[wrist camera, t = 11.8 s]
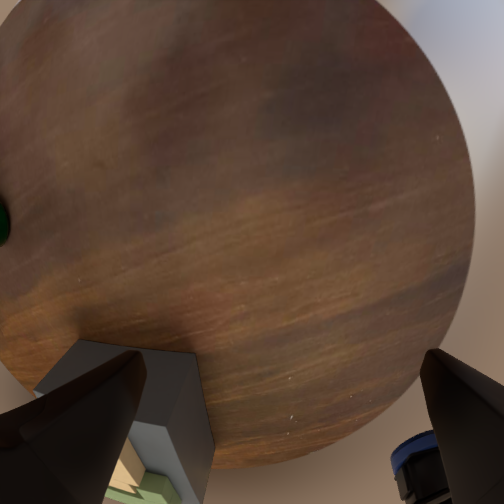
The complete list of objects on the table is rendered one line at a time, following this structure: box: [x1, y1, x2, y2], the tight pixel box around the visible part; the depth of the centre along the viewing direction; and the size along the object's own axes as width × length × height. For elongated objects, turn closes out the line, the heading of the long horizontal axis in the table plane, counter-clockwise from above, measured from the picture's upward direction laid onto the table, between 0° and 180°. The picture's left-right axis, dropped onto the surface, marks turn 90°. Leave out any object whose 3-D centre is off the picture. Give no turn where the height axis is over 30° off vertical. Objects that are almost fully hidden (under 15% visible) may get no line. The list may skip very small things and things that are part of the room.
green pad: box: [105, 472, 182, 504], centre depth 19 cm, size 8×6×2 cm, turn 92°
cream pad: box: [109, 437, 146, 494], centre depth 17 cm, size 5×7×2 cm
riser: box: [33, 339, 215, 504], centre depth 22 cm, size 12×14×8 cm
